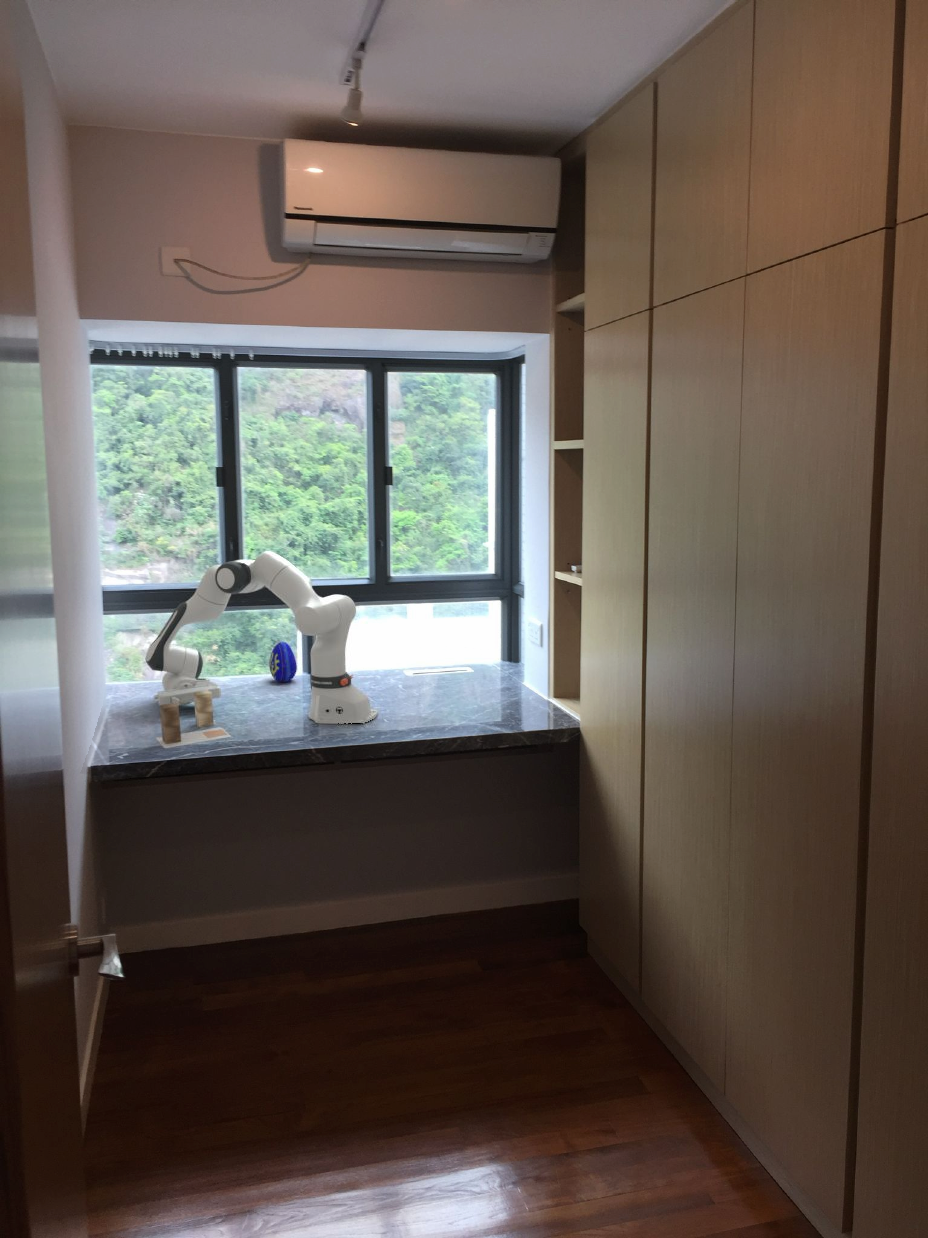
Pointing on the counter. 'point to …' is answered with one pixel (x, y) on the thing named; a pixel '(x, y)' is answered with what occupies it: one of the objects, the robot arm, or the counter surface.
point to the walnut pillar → (170, 723)
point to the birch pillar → (203, 708)
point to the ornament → (282, 663)
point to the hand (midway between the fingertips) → (195, 700)
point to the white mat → (197, 737)
